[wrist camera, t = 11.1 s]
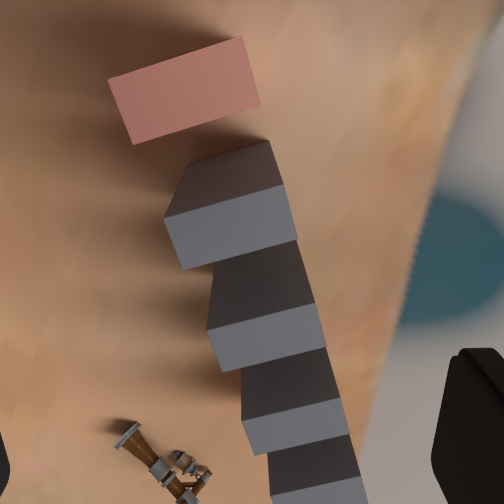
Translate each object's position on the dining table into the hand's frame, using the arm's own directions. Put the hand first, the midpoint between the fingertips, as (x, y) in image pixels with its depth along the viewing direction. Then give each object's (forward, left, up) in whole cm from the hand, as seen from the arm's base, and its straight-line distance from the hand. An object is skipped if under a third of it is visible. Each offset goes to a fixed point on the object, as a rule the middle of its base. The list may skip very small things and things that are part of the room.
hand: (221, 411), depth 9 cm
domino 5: (-8, -14, -20) cm, 26 cm away
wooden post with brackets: (-20, -11, -21) cm, 31 cm away
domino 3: (-3, -5, -20) cm, 21 cm away
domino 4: (-5, -10, -20) cm, 23 cm away
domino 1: (+3, +5, -20) cm, 21 cm away
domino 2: (0, 0, -20) cm, 20 cm away
